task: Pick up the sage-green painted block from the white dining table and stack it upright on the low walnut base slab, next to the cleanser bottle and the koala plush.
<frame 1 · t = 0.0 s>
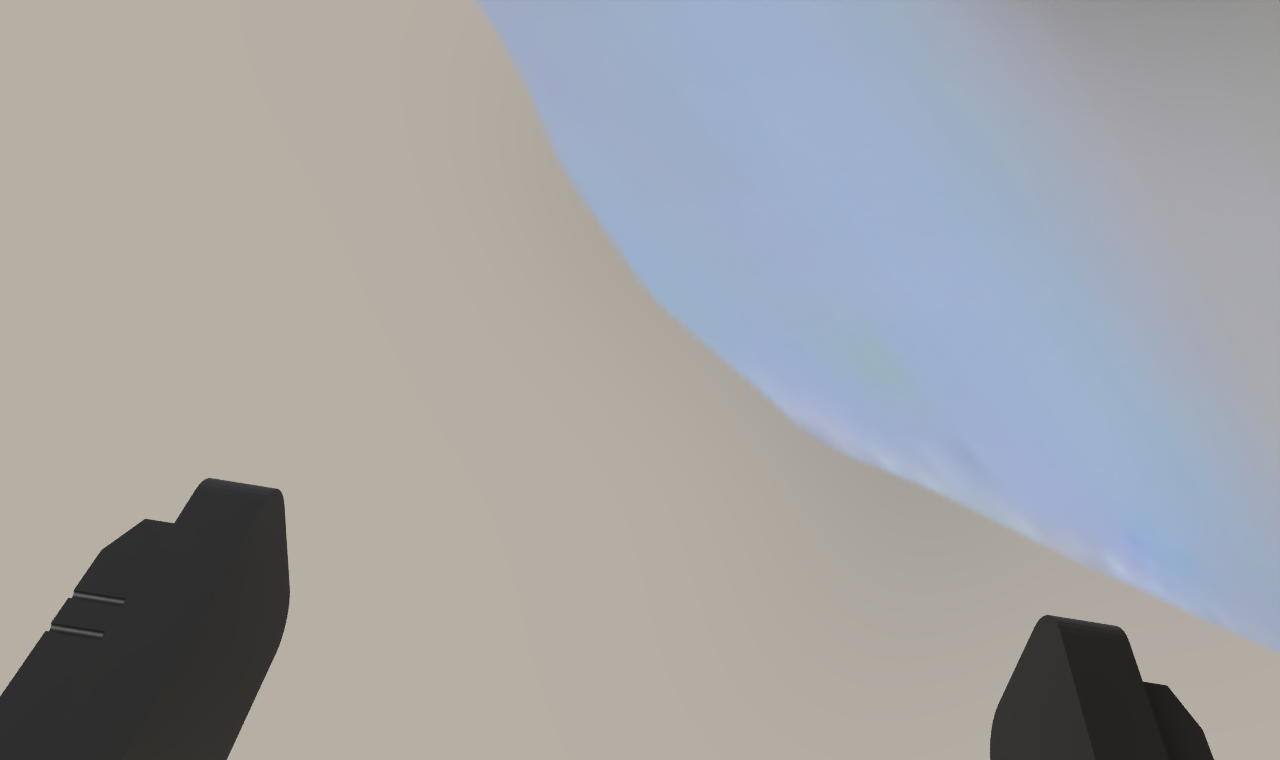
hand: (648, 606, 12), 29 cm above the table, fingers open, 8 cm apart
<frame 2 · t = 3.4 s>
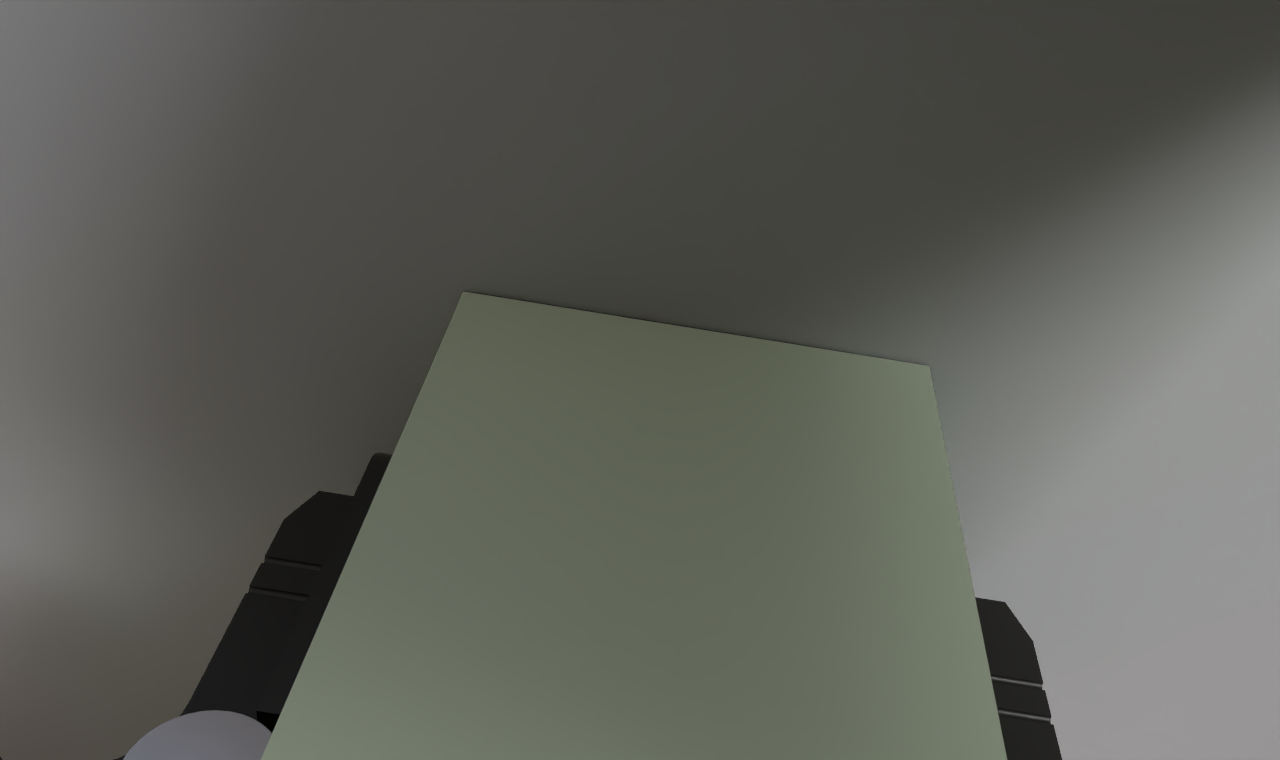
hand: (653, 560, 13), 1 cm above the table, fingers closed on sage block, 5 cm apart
sage block: (663, 504, 14), on the table, touching gripper
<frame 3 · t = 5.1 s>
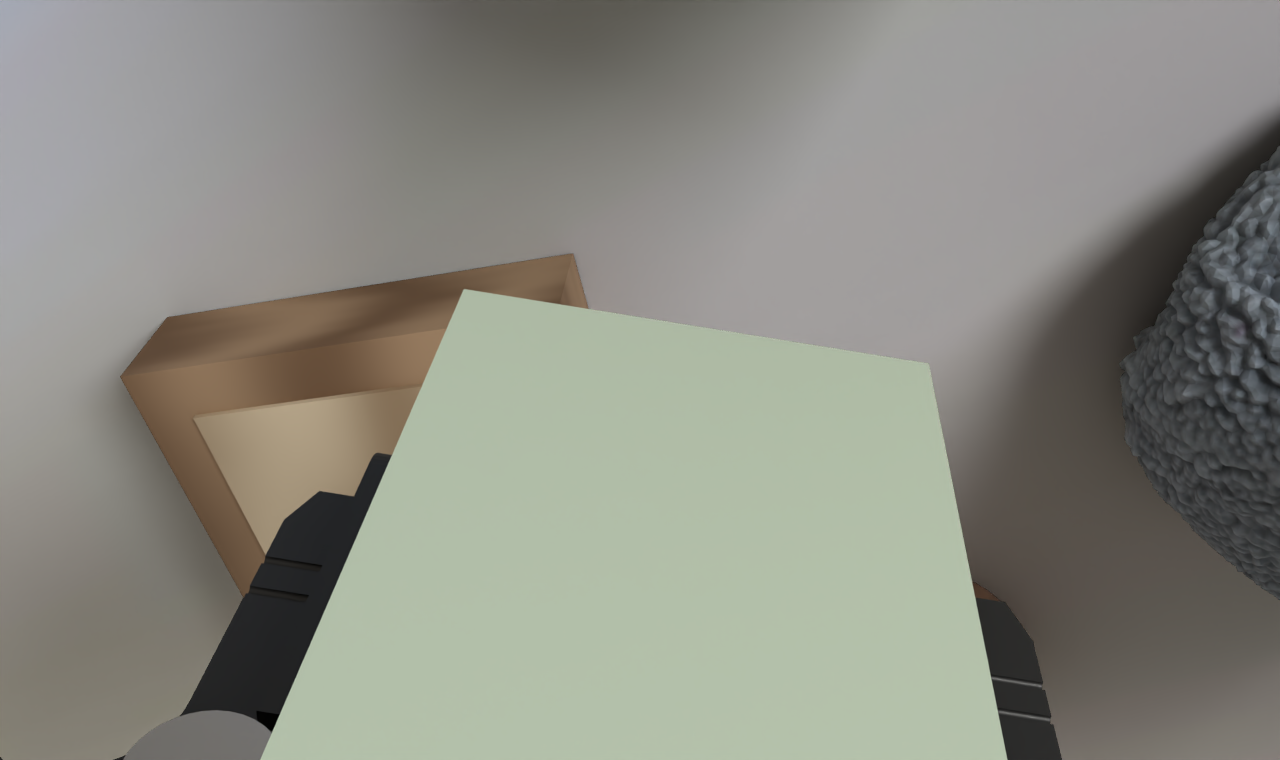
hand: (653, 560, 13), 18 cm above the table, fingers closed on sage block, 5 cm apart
sage block: (663, 502, 14), point 17 cm above the table, touching gripper
walnut base: (430, 456, 35), on the table
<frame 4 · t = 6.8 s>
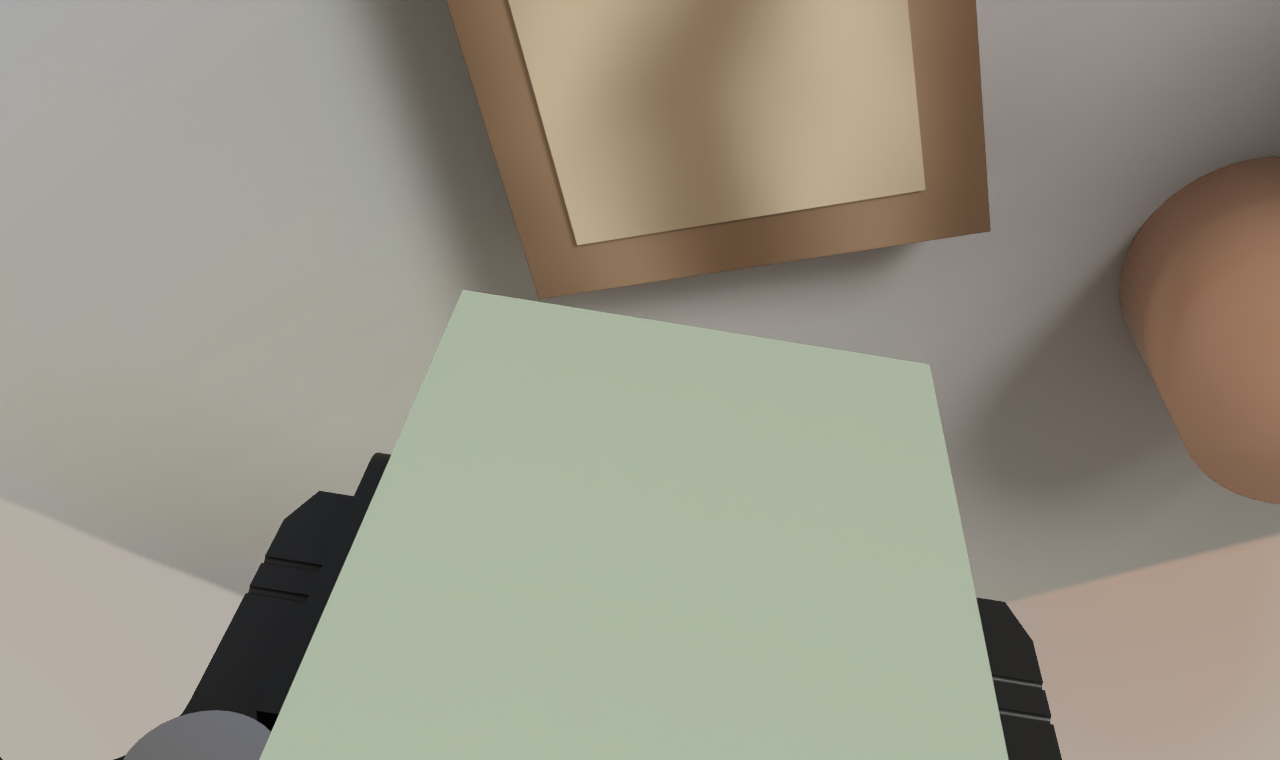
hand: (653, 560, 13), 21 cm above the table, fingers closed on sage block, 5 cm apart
sage block: (663, 503, 14), point 20 cm above the table, touching gripper
walnut base: (718, 7, 30), on the table
tan rounded block: (1249, 271, 33), on the table
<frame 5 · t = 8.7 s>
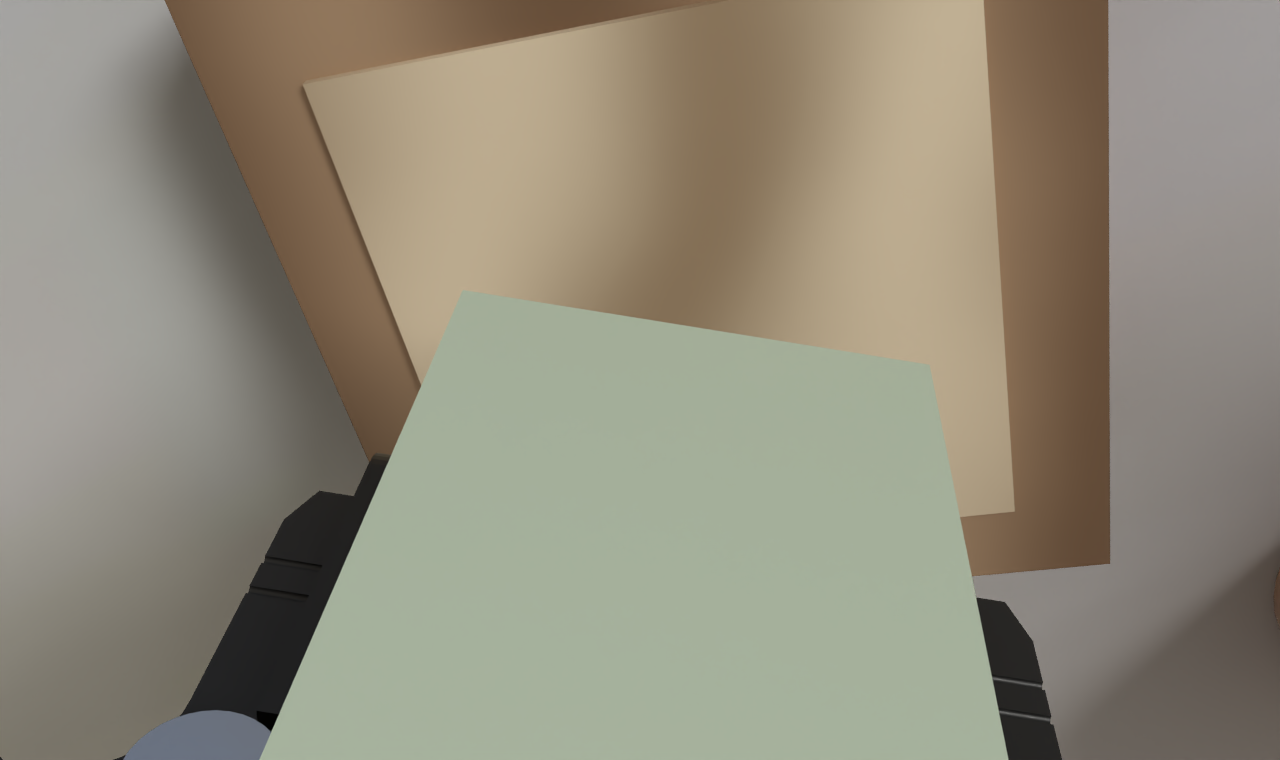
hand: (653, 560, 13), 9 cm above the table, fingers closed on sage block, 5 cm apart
sage block: (663, 503, 14), point 8 cm above the table, touching gripper
walnut base: (700, 221, 20), on the table
when the fingers open (5 cm above the table, at t = 10.4 s): sage block stays where it is, resting on walnut base.
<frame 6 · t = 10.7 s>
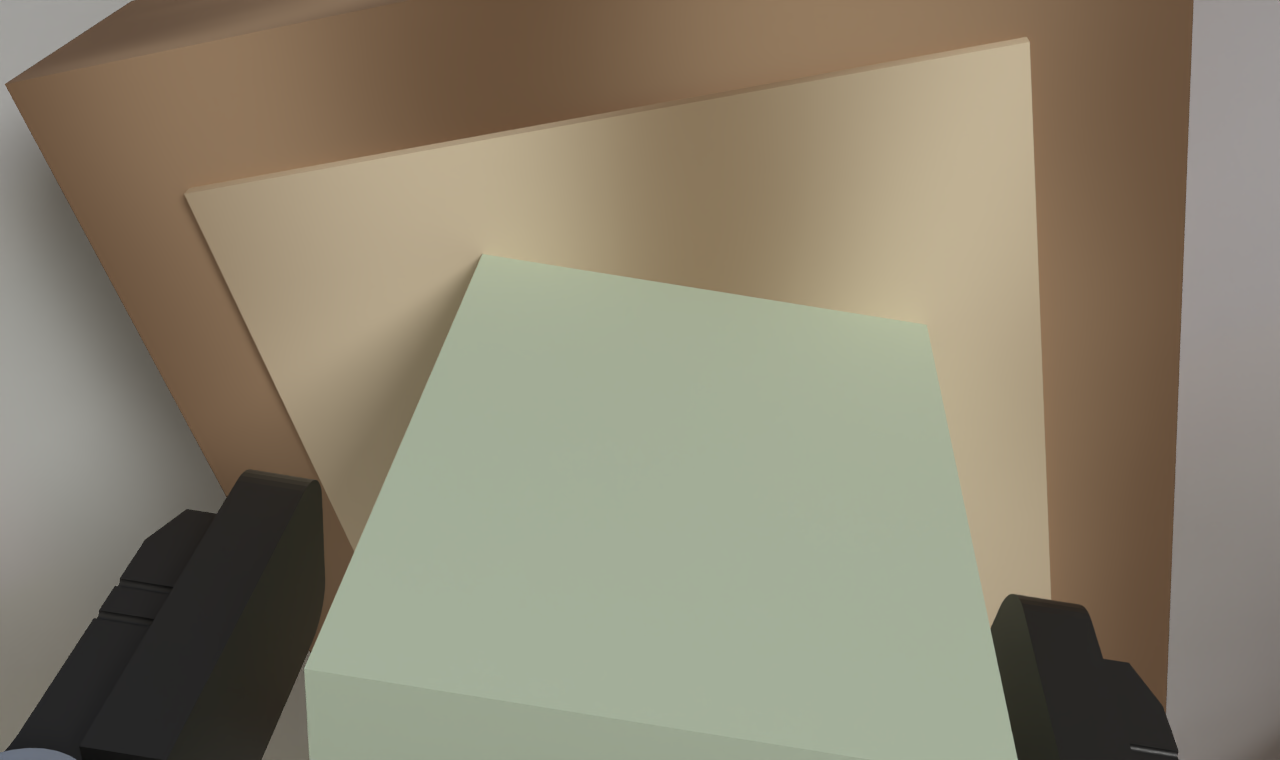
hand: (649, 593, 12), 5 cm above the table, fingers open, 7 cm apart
sage block: (672, 462, 14), point 3 cm above the table, touching walnut base
walnut base: (681, 328, 17), on the table
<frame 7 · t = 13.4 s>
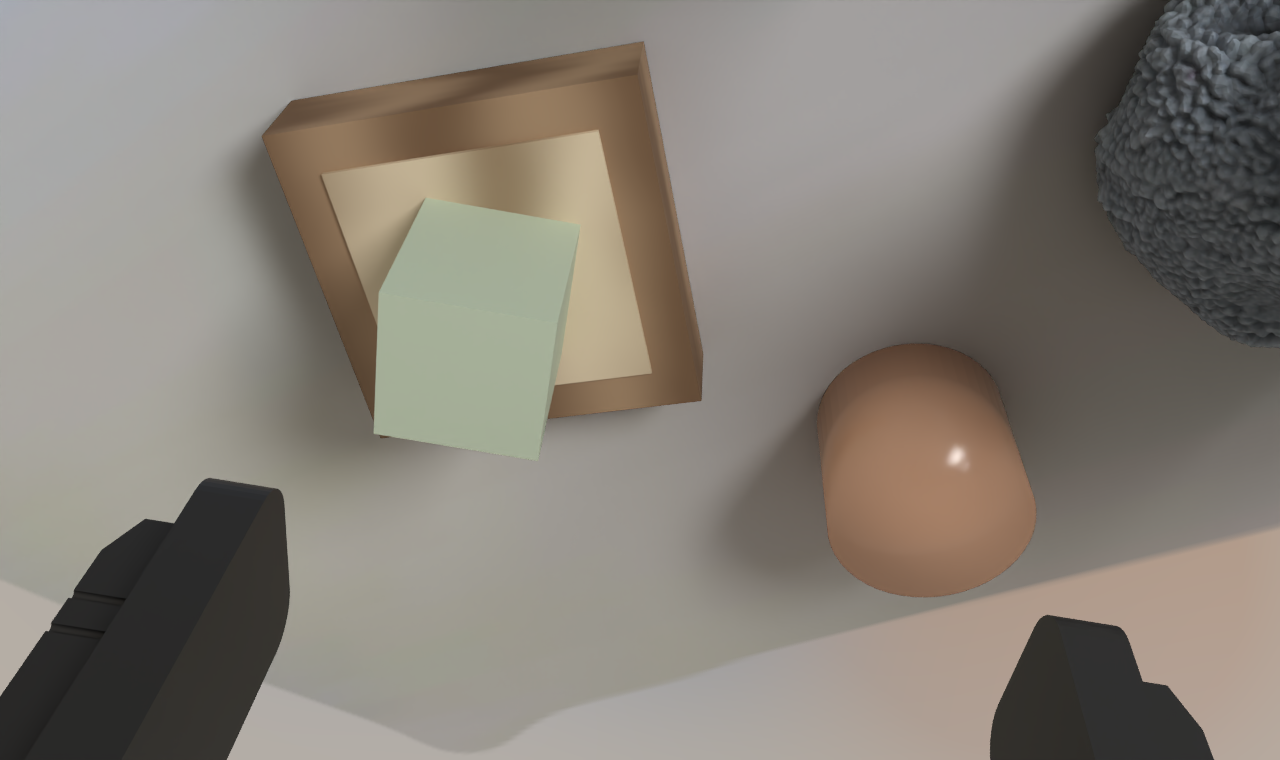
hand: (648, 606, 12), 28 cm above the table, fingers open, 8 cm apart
sage block: (496, 278, 38), point 3 cm above the table, touching walnut base
walnut base: (509, 234, 41), on the table
tan rounded block: (908, 419, 45), on the table
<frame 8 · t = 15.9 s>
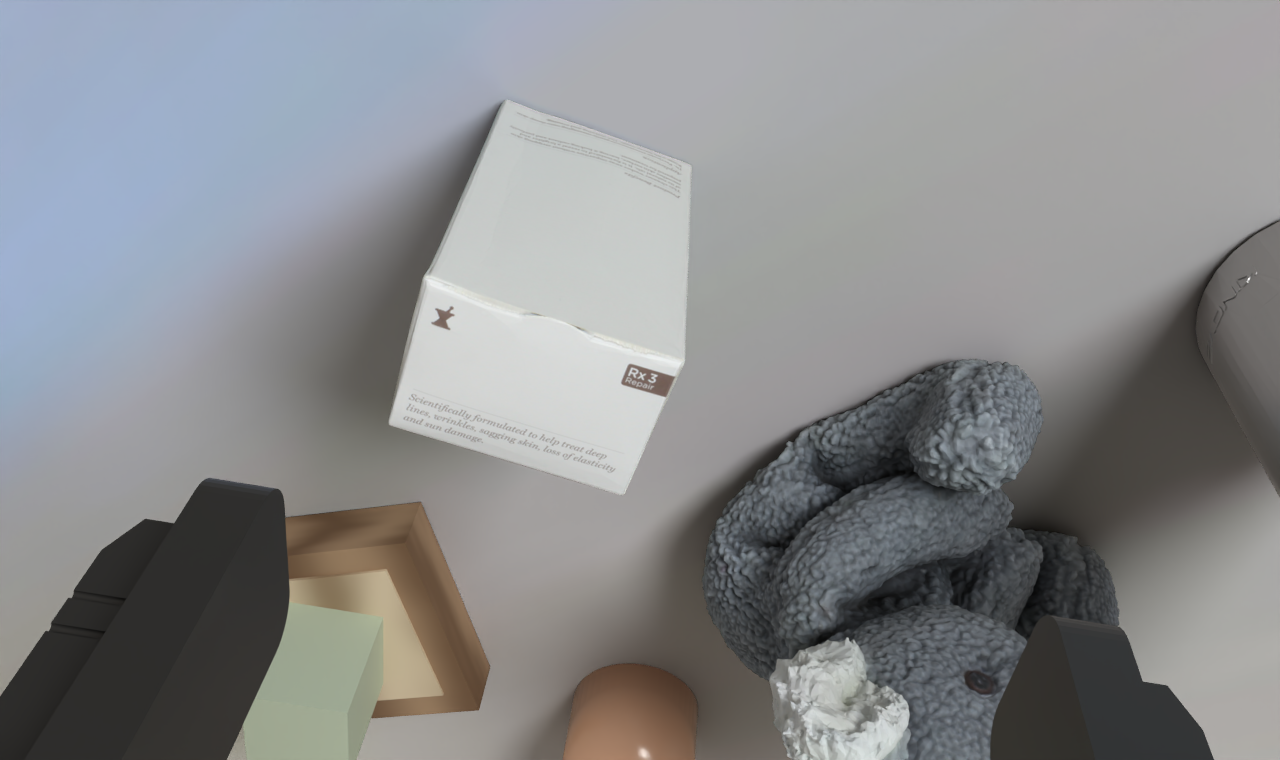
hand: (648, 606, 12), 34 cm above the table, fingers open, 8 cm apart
koala plush: (882, 519, 56), on the table
sage block: (335, 643, 59), point 3 cm above the table, touching walnut base
skincare box: (586, 186, 47), on the table
walnut base: (351, 599, 62), on the table
tan rounded block: (635, 706, 65), on the table
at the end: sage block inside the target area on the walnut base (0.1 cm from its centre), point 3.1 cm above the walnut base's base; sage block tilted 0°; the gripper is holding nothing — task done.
